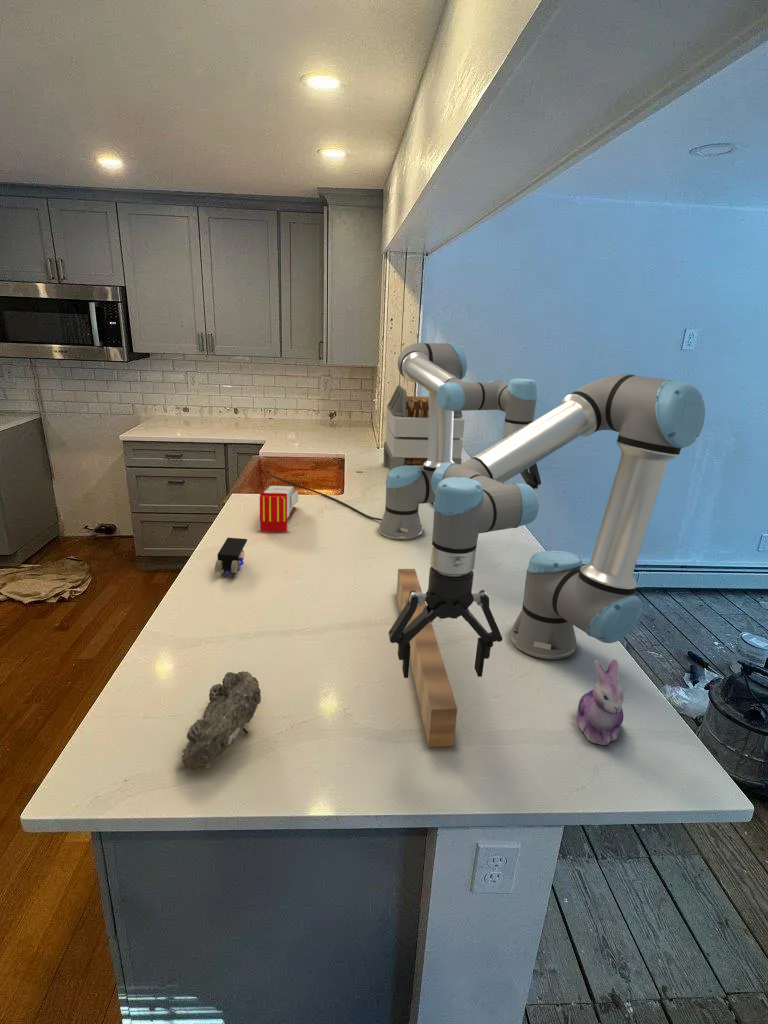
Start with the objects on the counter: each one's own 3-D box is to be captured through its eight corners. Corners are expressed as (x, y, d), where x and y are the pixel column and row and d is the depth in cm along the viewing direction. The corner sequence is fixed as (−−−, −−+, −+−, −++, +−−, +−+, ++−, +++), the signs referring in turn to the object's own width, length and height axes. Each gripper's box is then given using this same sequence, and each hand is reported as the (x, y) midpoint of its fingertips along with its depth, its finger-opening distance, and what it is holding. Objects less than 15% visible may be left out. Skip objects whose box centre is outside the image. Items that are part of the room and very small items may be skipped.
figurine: (602, 755, 103) (617, 685, 98) (562, 719, 111) (574, 654, 106) (638, 739, 107) (654, 672, 102) (596, 706, 116) (609, 643, 110)
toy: (300, 481, 221) (289, 494, 192) (300, 514, 224) (289, 533, 194) (268, 480, 221) (253, 493, 191) (269, 514, 223) (254, 532, 194)
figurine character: (238, 584, 162) (249, 557, 175) (236, 562, 158) (247, 536, 172) (215, 584, 161) (227, 556, 175) (212, 561, 158) (225, 535, 171)
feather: (431, 489, 254) (434, 486, 253) (433, 508, 227) (436, 504, 227) (428, 487, 254) (431, 484, 253) (429, 506, 227) (432, 502, 227)
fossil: (206, 672, 114) (260, 639, 109) (238, 703, 117) (292, 672, 112) (156, 763, 94) (219, 728, 89) (197, 797, 97) (260, 766, 92)
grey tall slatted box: (382, 463, 289) (386, 382, 275) (445, 464, 293) (451, 384, 279) (390, 482, 257) (394, 392, 243) (460, 483, 261) (468, 394, 247)
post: (396, 596, 157) (398, 568, 154) (413, 596, 157) (415, 568, 154) (428, 747, 103) (431, 709, 100) (453, 746, 104) (457, 708, 101)
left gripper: (489, 444, 143) (481, 522, 150) (560, 437, 155) (549, 510, 162) (471, 438, 149) (464, 514, 157) (541, 432, 161) (531, 502, 168)
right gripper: (381, 577, 92) (375, 687, 99) (529, 578, 95) (514, 684, 102) (377, 558, 99) (372, 661, 106) (516, 559, 102) (502, 659, 109)
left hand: (507, 512), depth 159 cm, fingers open, 13 cm apart
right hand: (441, 673), depth 104 cm, fingers open, 13 cm apart
